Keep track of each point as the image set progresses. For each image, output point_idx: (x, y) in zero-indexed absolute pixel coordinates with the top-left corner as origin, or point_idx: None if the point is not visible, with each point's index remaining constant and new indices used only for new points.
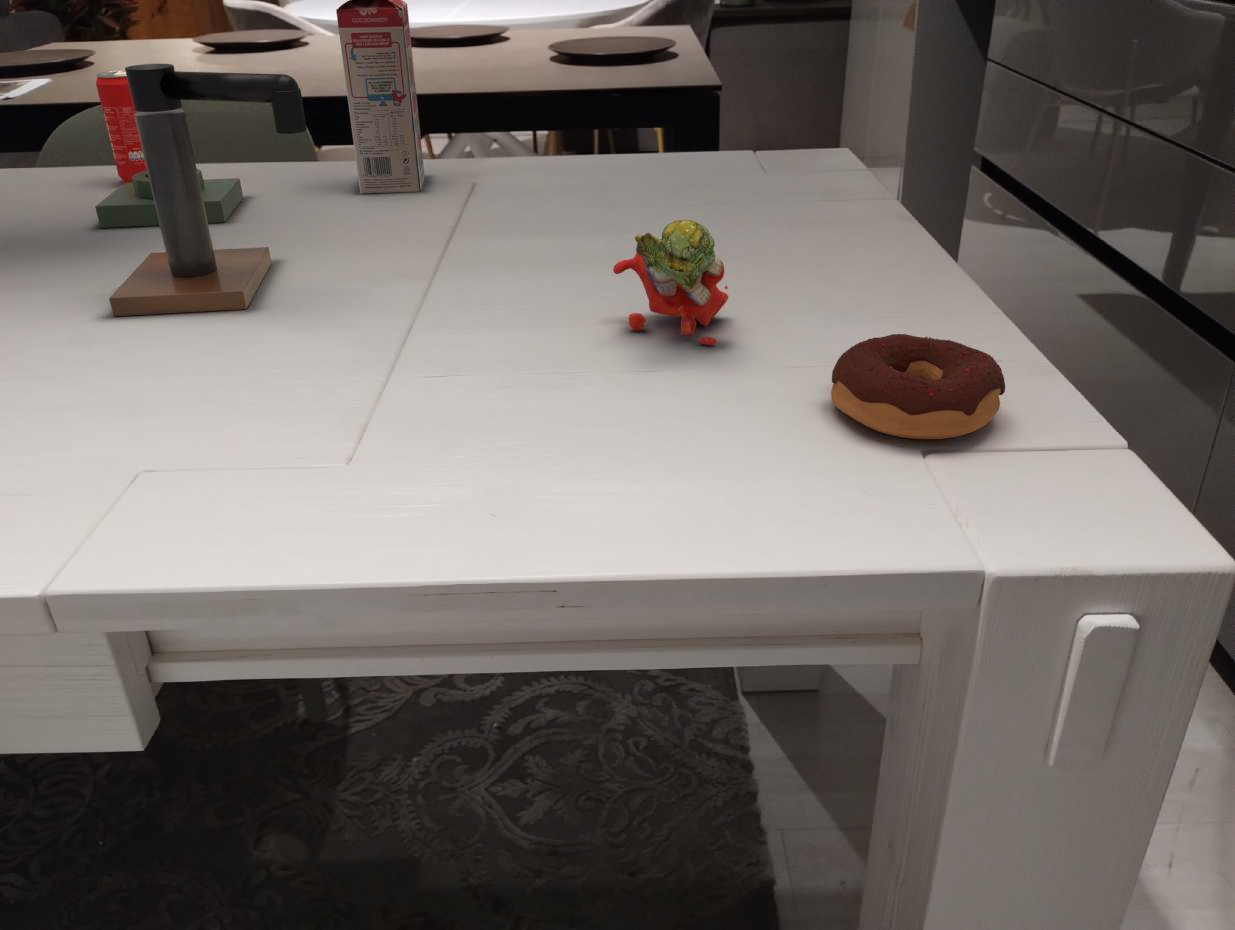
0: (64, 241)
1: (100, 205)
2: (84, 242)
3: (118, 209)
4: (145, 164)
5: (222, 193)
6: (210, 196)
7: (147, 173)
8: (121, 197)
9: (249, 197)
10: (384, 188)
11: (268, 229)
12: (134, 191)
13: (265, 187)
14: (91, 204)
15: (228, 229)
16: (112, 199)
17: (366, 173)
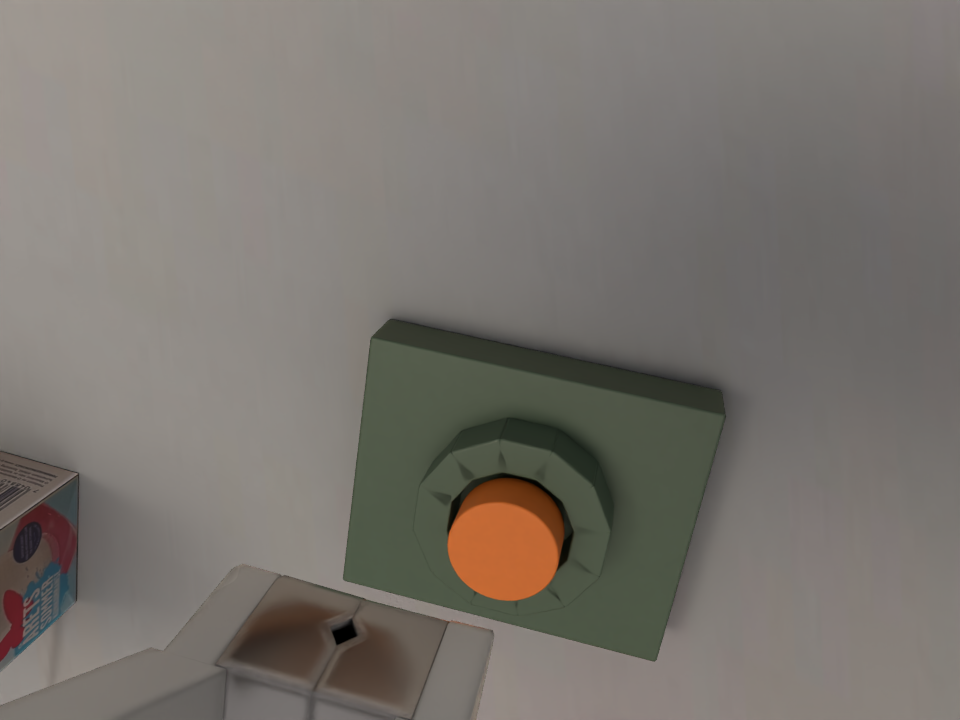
0: (819, 287)
1: (709, 416)
2: (761, 253)
3: (660, 396)
4: (557, 543)
5: (371, 418)
6: (402, 398)
7: (561, 530)
8: (653, 490)
9: None
10: (13, 462)
11: (271, 202)
12: (620, 547)
13: None
14: (759, 661)
15: (375, 243)
16: (678, 476)
17: (22, 490)
